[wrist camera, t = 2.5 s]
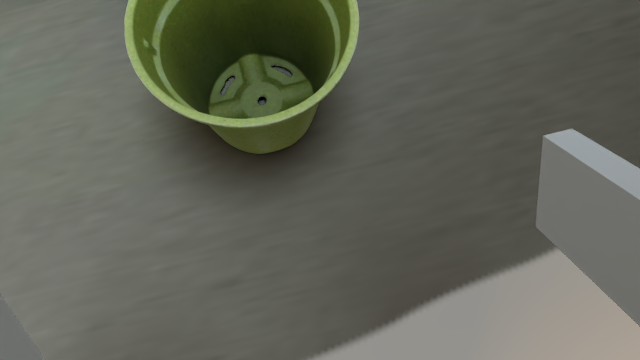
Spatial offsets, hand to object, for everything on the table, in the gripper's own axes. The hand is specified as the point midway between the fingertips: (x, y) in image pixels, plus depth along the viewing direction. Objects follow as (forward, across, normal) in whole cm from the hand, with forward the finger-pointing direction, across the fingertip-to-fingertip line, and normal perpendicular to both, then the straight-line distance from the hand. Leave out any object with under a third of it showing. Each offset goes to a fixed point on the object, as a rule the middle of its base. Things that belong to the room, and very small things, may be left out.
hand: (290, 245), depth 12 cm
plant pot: (+17, 0, -3) cm, 18 cm away
